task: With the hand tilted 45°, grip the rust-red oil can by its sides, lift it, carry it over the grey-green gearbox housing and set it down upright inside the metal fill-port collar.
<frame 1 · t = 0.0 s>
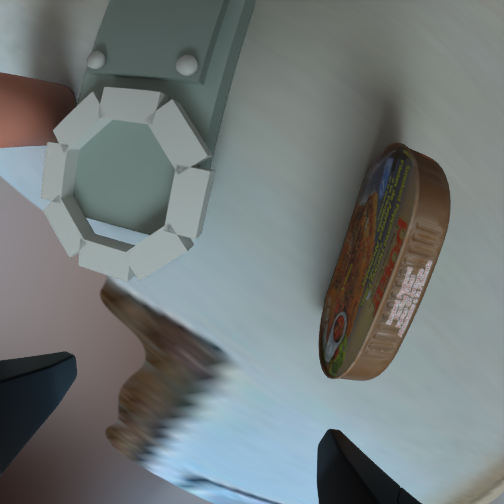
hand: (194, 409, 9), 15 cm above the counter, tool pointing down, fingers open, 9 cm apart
gearbox: (158, 99, 20), on the counter
oil can: (52, 114, 21), on the counter
tin: (362, 248, 23), on the counter
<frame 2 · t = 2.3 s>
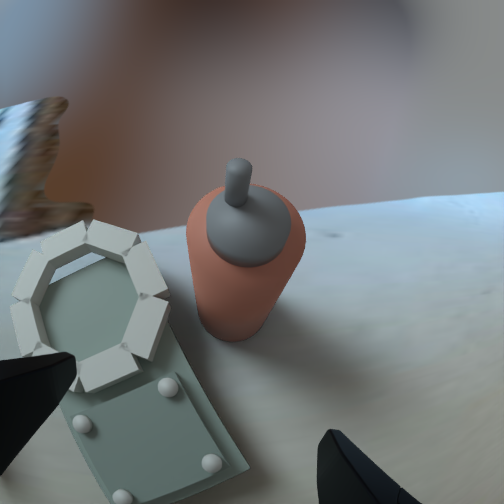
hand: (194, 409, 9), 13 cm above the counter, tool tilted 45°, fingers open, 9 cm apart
gearbox: (129, 385, 21), on the counter
oil can: (232, 308, 25), on the counter
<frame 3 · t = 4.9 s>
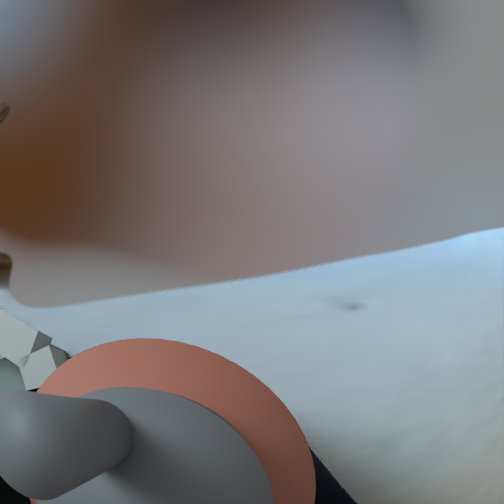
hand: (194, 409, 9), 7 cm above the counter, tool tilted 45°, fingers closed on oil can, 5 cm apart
oil can: (195, 430, 15), on the counter, touching gripper
when the fingers open (11 cm above the counter, at t = 8.1 s): oil can stays where it is, resting on gearbox.
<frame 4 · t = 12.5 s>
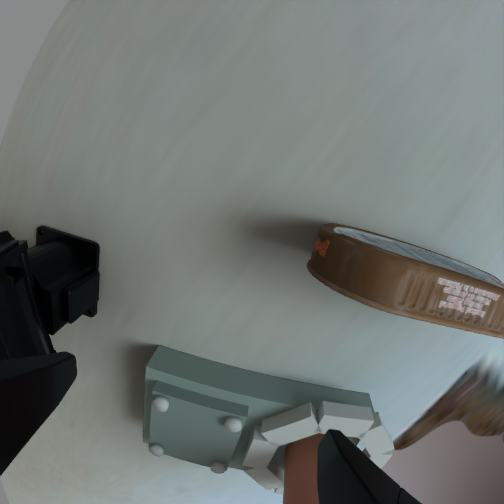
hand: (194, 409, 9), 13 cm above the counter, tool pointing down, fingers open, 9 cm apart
gearbox: (252, 415, 26), on the counter
oil can: (316, 451, 23), point 3 cm above the counter, touching gearbox
tin: (406, 257, 21), on the counter
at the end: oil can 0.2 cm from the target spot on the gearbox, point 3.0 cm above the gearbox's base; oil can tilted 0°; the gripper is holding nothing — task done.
